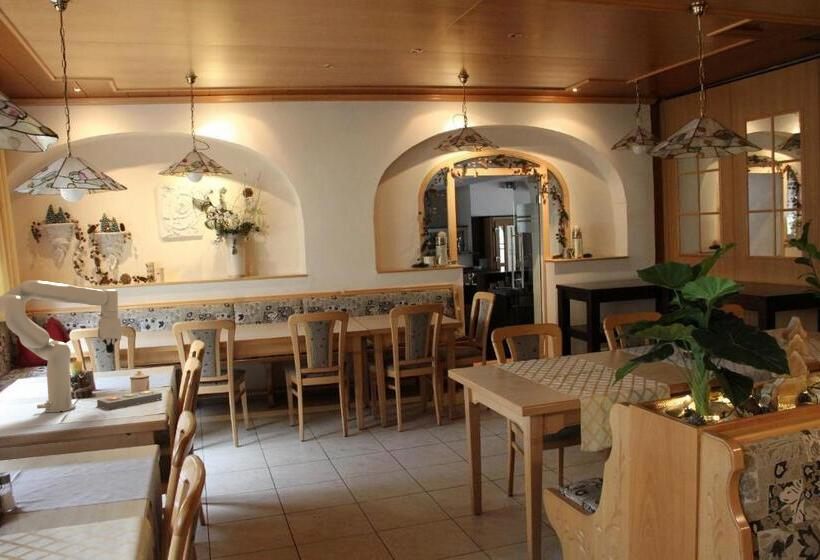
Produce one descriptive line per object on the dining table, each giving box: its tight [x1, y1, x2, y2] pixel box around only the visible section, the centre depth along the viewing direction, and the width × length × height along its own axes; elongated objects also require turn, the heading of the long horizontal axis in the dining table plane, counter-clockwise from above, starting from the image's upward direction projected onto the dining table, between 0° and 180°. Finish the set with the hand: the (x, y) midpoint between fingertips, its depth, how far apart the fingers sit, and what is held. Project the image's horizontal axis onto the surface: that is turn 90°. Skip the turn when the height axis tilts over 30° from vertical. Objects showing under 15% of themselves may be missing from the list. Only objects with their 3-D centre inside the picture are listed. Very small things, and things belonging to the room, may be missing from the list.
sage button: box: [123, 393, 136, 398], centre depth 332 cm, size 5×5×3 cm
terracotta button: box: [107, 396, 119, 401], centre depth 326 cm, size 5×5×3 cm
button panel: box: [96, 389, 163, 411], centre depth 332 cm, size 26×12×3 cm, turn 137°
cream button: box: [141, 391, 152, 395], centre depth 338 cm, size 5×5×3 cm
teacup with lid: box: [129, 370, 150, 394], centre depth 353 cm, size 12×9×12 cm
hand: (109, 352), depth 338 cm, fingers closed
